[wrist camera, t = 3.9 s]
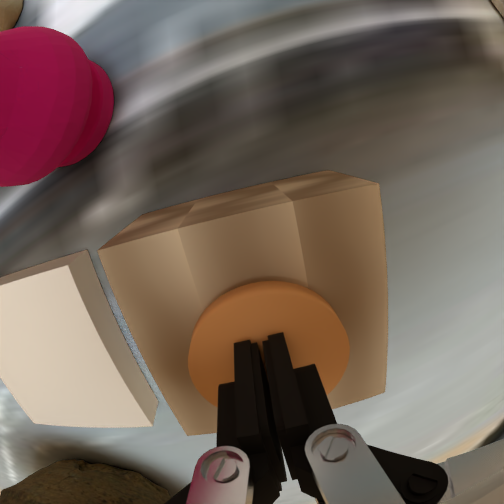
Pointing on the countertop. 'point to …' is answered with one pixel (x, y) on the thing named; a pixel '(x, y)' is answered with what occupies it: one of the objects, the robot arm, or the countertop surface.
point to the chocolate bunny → (9, 13)
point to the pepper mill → (48, 104)
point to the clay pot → (84, 486)
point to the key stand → (254, 274)
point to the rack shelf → (69, 349)
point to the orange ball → (267, 333)
